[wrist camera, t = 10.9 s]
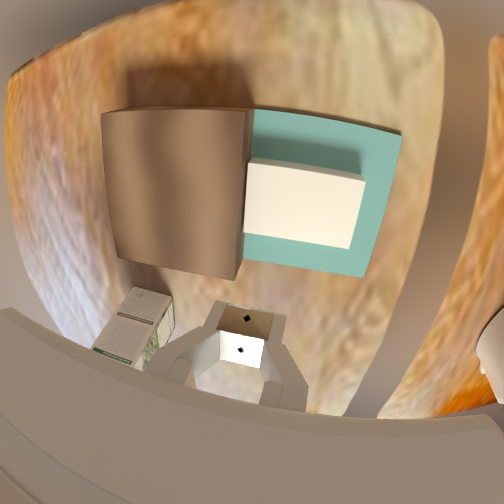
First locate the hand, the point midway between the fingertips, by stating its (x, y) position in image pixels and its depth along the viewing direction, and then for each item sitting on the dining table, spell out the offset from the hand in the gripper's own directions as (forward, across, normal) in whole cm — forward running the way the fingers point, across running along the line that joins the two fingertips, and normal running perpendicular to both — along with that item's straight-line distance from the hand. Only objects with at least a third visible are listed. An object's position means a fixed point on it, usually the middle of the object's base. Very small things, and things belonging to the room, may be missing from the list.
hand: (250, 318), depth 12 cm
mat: (+15, -3, 0) cm, 15 cm away
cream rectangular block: (+14, -1, 0) cm, 15 cm away
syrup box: (+14, +14, +17) cm, 27 cm away
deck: (+14, +9, 0) cm, 17 cm away
